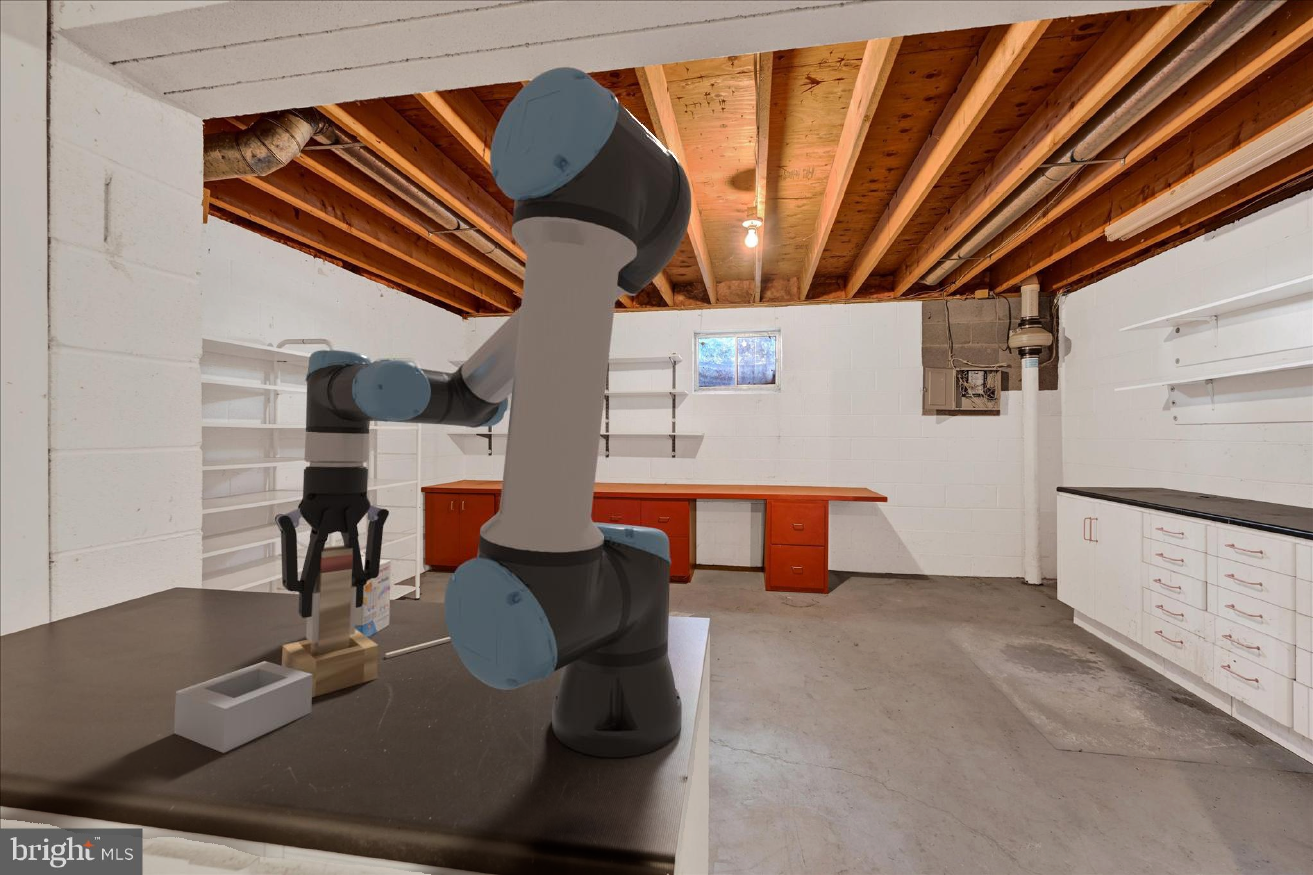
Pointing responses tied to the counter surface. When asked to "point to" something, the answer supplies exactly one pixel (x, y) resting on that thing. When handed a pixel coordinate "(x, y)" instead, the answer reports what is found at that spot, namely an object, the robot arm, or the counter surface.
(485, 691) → the counter surface
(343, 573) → the red-banded tall box
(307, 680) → the grey square frame
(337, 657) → the wooden square frame
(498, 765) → the counter surface
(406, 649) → the thin white stick
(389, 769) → the counter surface
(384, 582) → the ink box
